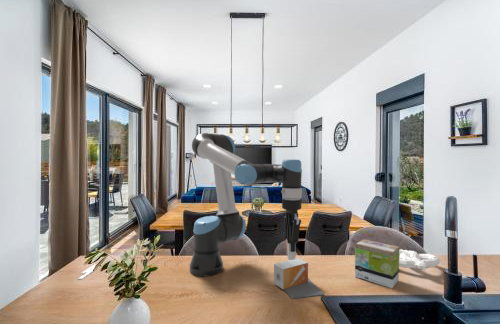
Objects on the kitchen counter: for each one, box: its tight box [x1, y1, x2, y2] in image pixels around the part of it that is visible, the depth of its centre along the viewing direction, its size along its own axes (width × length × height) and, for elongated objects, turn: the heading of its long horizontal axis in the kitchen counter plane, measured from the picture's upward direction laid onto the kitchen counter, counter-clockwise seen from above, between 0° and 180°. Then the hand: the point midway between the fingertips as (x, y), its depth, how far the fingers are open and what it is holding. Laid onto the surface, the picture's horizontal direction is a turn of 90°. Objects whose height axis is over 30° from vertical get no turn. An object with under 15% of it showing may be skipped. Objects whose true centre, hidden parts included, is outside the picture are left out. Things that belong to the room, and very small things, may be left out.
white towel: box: [399, 248, 441, 271], centre depth 125 cm, size 28×24×6 cm
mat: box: [284, 277, 325, 299], centre depth 102 cm, size 15×13×1 cm
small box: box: [273, 257, 309, 291], centre depth 105 cm, size 8×6×13 cm
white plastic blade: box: [77, 264, 100, 280], centre depth 115 cm, size 5×15×1 cm, turn 0°
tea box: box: [354, 238, 400, 289], centre depth 110 cm, size 15×10×15 cm, turn 47°
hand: (291, 258), depth 101 cm, fingers closed
